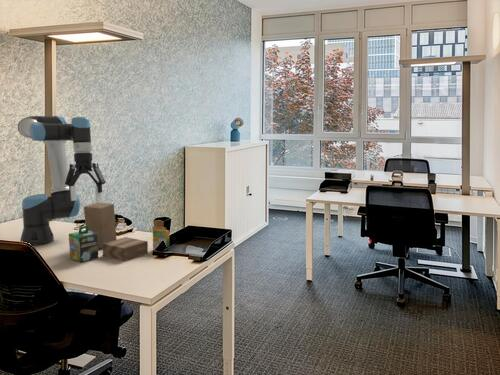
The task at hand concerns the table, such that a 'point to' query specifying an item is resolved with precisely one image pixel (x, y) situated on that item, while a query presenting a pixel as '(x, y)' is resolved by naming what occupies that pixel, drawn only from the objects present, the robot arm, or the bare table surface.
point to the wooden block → (101, 221)
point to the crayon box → (160, 236)
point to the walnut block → (125, 248)
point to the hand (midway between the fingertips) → (86, 200)
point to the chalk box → (83, 245)
